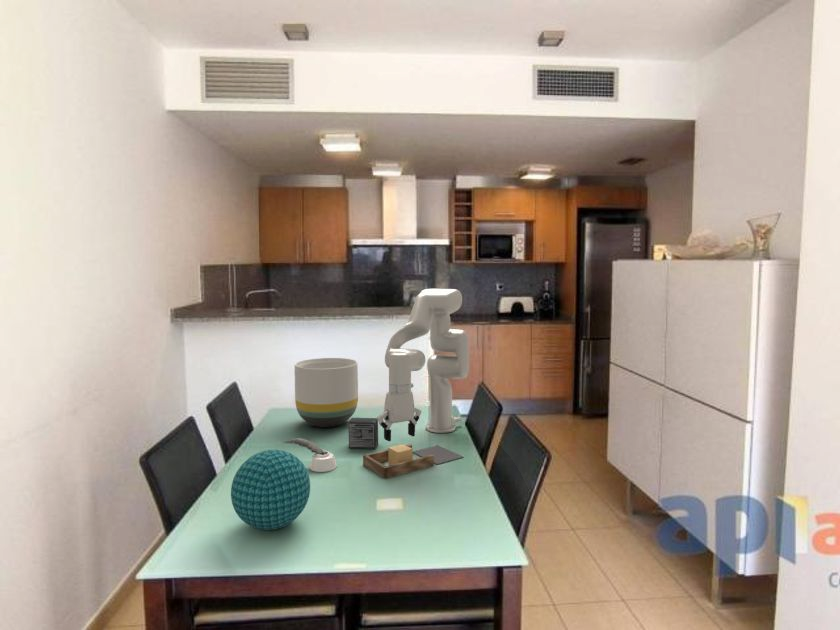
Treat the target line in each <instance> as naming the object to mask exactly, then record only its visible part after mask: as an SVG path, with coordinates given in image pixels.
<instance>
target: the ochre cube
mask: <svg viewBox="0 0 840 630" xmlns="http://www.w3.org/2000/svg"><path fill="white" fill-rule="evenodd" d="M406 445H407V444H404V443H401V444H399V445H393V446H388V456H389V460H388V466H389V465H393V464H397V463H401V462H405V461H409V460H412V459H414V458H413V454H414V453H413V451H414V450H413V449H414V448H413V447H412V448H410V447H408V446H406Z"/></svg>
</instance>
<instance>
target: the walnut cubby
mask: <svg viewBox="0 0 840 630" xmlns="http://www.w3.org/2000/svg"><path fill="white" fill-rule="evenodd" d="M405 445H406V446H408V447H410V448H412V449H413V445H412V444H410V443H409V444H405ZM387 461H388V462H389V456H388V449H385V450H379V451H375V452H371V453H367V454H366V453H365V454H363V455H362V465H363V466H364V467H365V468H367V469H368V468H369V470H370V471H372V472H373V473H375V474H377V475H378V476H380V477H381V478H383V479H384V480H385V479H390V478H394V477H396V476H400V475H403V474H407V473H411V472H416V471H418V470H422V469H425V468H430V467H434V465H435V464H434V455H428V456H424V457H420V456H419V457H417V458H413V459H412V460H409V461H405V462H401V463H397V464H393V465H389V464H388V465H385V464H383V463H384V462H387ZM382 462H383V463H382Z"/></svg>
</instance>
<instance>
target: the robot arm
mask: <svg viewBox="0 0 840 630" xmlns="http://www.w3.org/2000/svg"><path fill="white" fill-rule="evenodd" d="M415 297H416V298H415V300H414V303H413V306H412V308H411V312H410V316H409V318H408V320H407V321H408V322H407V323H406V324H404V325H403V326H402V327H401V328H399V329H398V330H397V331H396V332H395V333H394V334H393V335H392V336H391V337H390V339H389V342H388V345H387V348H386V350H385V355H384V364H385V366H386V367H387V368H388V391H387V392H386V395H385V399H384V407H383V412H382V413H381V414H379V415H378V416H377V417H376V418H377V419H378V425H379V426H381V427H382V429H383V438H384V440H386V441H387V442H391V441H392V429H390V428H391V427H392V425H393V424H398V423H405V422H409V423H408V424H407V435H409V436H411V437H416V436H415V435H416V425H417V422H418V421H419V419H420V416H421V414H422V410H420V409H418V408H416V407H415V399H414V393H413V391H412V388H414V383H412V372H418V371H420V370H421V369H423V367H424V366H425V364H426V369H427V374H428V383H429V385H428V387H429V389H428V390H429V395H428V396H429V397H428V398H429V399H428V400H429V403H428V404H429V406H428V407H429V409H428V410H429V411H428V412H429V414H428V415H429V417H428V418H429V419H428V420H429V422H428V423H427V424H426V425H425V430H426V431H428V432H431V433H435V434H436V433H437V434H447V433H452V432H454V431H455V430H456V424H455V423H459V422H461V421H462V419H461V417H460V416H457V417H454V416H453V387H452V384H451V381H450V380H449V379H455V380H457V379H458V380H461V379H462V380H463V379H466V378H467V376H468V375H469V372H470V342H469V341H470V340H469V336H468V333H467V332H466V331H465V330H464V329H463V330H462V329H456V328H455V329H454V328H453V329H452V327H451V316H450V315H451V314H453V313H455V312H457V311H458V310H459V309H460V308H461V306H462V304H463V296H462V293H461V291H460V290H458V289H455V288H426V289H423V290H421V291H420V293H419V294H417V296H415ZM427 334H429V336H430V339H429V341H430V348H431V349H432V350H433V351H434V352H441V353H454V354H455V355H454V354H453V355H452V354H433V355H431V356H429V358H428V359H427V361H426V355H425V353H424V352H423V351H421V350H419V349H413V348H401V347H402V346H403V345H404V344H406V343H407V342H409V341H412V340H415V339H418V338H421V337H423V336H426V335H427Z"/></svg>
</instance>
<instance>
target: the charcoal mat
mask: <svg viewBox="0 0 840 630" xmlns="http://www.w3.org/2000/svg"><path fill="white" fill-rule="evenodd" d="M413 454H414V455H416V456H418V457H419V458H420V457H424V456H428V455H434V465H436V466H437V465H438V464H439V465H441V463H442V464H445V462H446V463H449V462H452V460H453V461H456V459H457V460H460V459H464V456H463V455H460V454H459V453H456V452H454V451H452V450H450V449H447V448H445V447H443V446H441V445H438V444H437V445H433V446H429V447H425V448H420V449H417V450H413ZM459 458H460V459H459ZM448 461H449V462H448Z"/></svg>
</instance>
